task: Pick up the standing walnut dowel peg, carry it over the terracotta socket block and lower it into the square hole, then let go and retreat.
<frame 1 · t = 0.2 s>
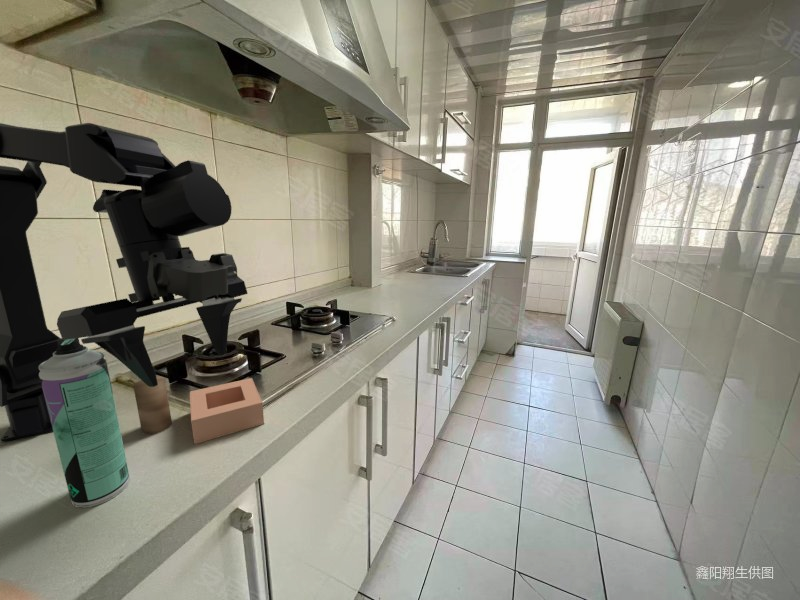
hand: (191, 368, 41), 15 cm above the worktop, tool pointing down, fingers open, 9 cm apart
socket block: (227, 417, 56), on the worktop
spray can: (102, 490, 41), on the worktop
peg: (157, 426, 53), on the worktop
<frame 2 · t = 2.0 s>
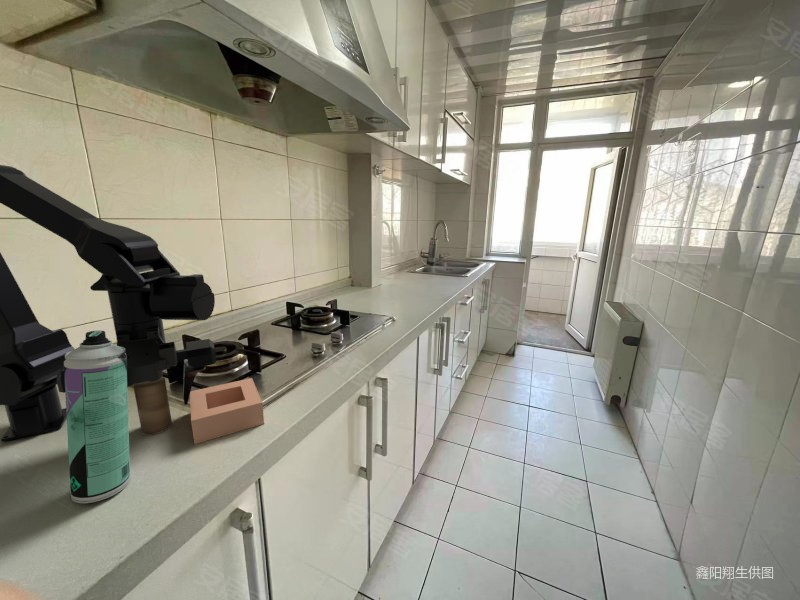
hand: (154, 411, 53), 3 cm above the worktop, tool pointing down, fingers open, 8 cm apart
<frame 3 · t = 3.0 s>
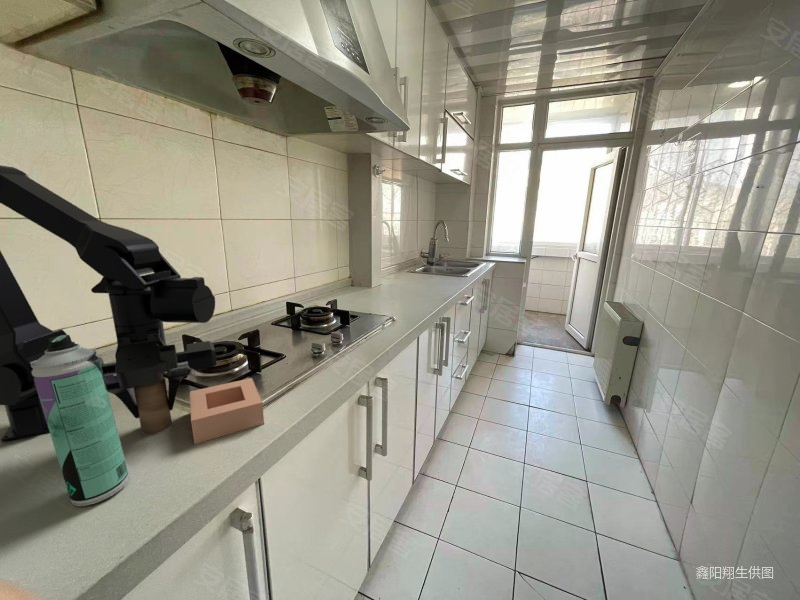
hand: (154, 413, 53), 3 cm above the worktop, tool pointing down, fingers closed on peg, 4 cm apart
peg: (157, 426, 53), on the worktop, touching gripper
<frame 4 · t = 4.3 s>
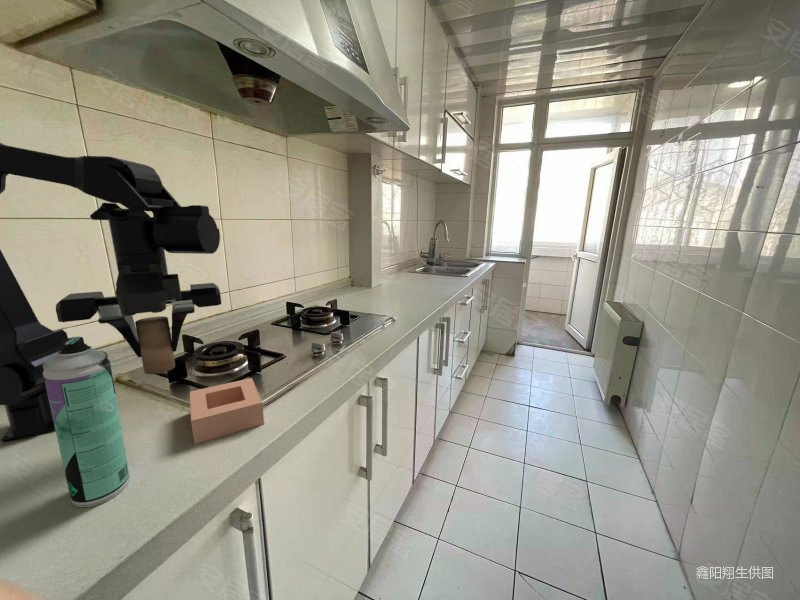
hand: (157, 353, 51), 13 cm above the worktop, tool pointing down, fingers closed on peg, 4 cm apart
peg: (160, 368, 51), point 10 cm above the worktop, touching gripper
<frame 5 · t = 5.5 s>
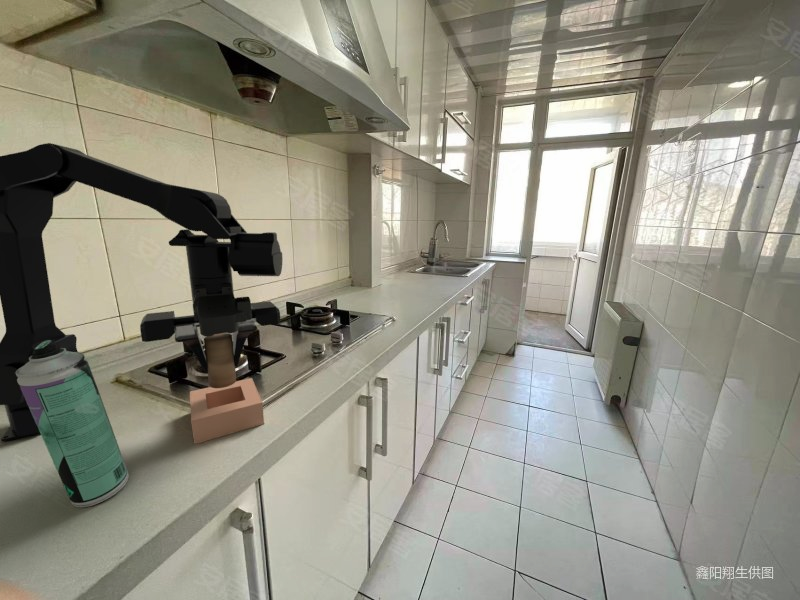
hand: (221, 368, 54), 9 cm above the worktop, tool pointing down, fingers closed on peg, 4 cm apart
peg: (222, 382, 55), point 7 cm above the worktop, touching gripper
when the fingers open (5 cm above the worktop, at t = 6.9 s): peg drops 2 cm, resting in socket block.
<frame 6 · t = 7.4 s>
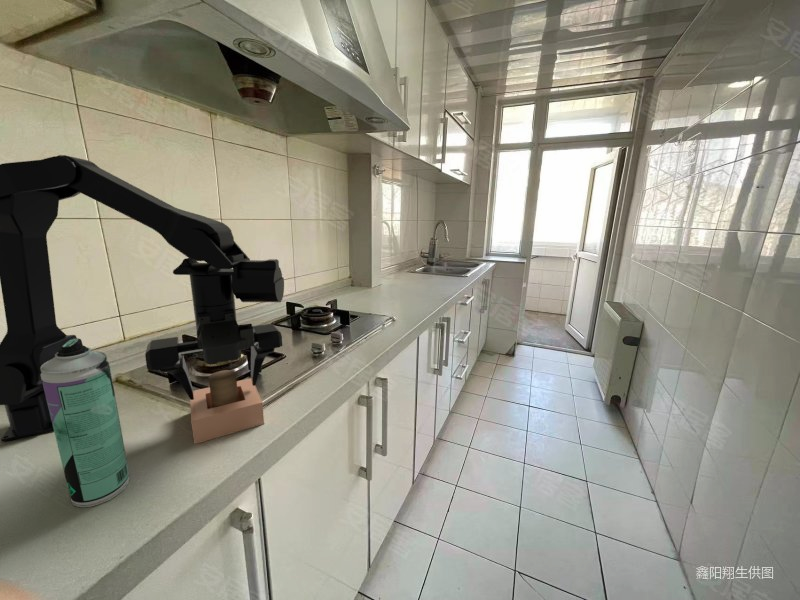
hand: (224, 391, 55), 5 cm above the worktop, tool pointing down, fingers open, 9 cm apart
peg: (227, 417, 56), resting in socket block
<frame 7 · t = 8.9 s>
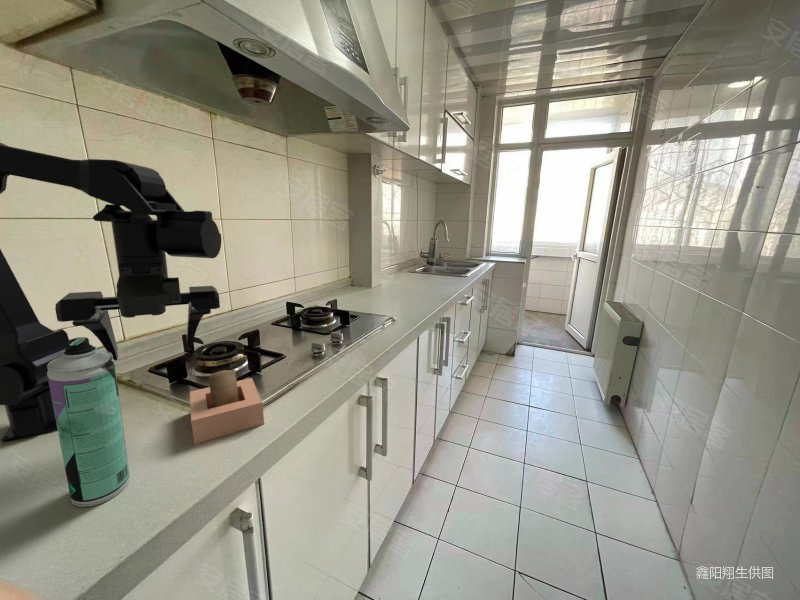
hand: (154, 354, 51), 12 cm above the worktop, tool pointing down, fingers open, 9 cm apart
nothing on the worktop moved.
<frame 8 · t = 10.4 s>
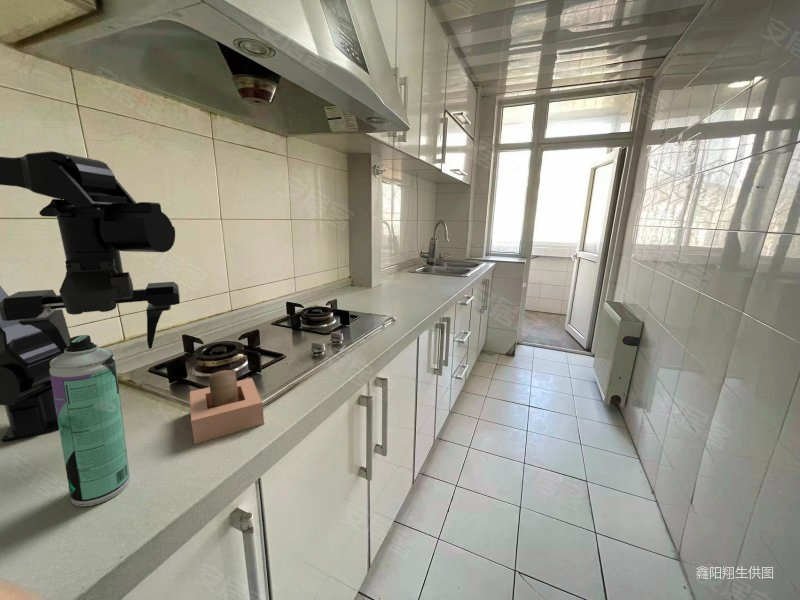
hand: (113, 353, 50), 13 cm above the worktop, tool pointing down, fingers open, 9 cm apart
at the end: peg 0.1 cm off-centre on the socket block, point 0.0 cm above the socket block's base; peg tilted 0°; the gripper is holding nothing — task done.
